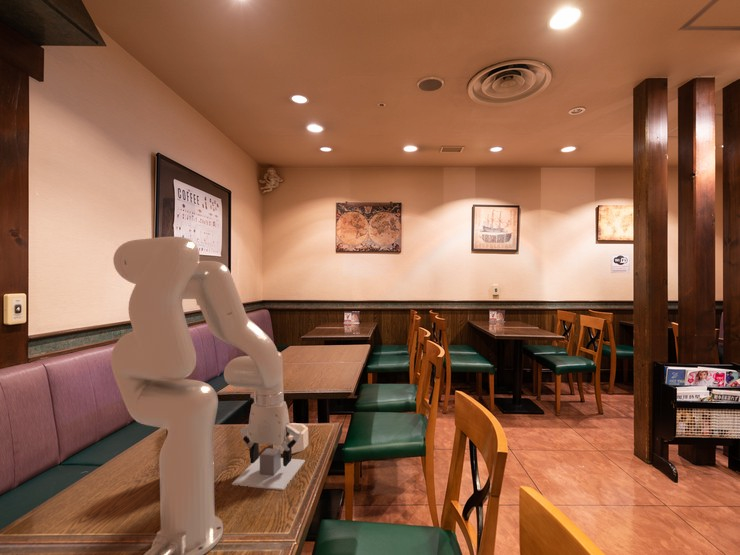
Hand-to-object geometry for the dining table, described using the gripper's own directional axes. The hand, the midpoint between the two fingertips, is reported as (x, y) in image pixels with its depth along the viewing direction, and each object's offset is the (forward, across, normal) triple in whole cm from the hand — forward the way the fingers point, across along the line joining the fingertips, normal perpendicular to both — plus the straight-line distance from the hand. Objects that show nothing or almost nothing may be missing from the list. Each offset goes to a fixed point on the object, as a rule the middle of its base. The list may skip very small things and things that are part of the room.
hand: (270, 462), depth 95 cm
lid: (+3, 0, 0) cm, 3 cm away
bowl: (+3, -1, +15) cm, 15 cm away
